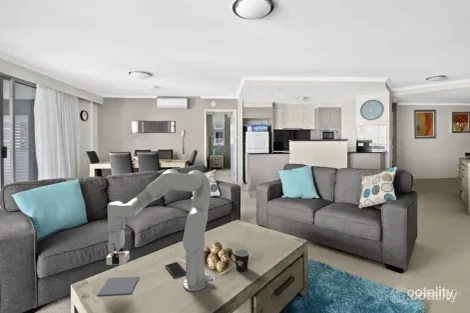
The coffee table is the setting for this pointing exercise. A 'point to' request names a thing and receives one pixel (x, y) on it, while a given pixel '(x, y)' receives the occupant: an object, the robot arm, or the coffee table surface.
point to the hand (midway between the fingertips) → (118, 260)
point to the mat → (118, 286)
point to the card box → (122, 258)
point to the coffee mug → (241, 259)
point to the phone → (175, 270)
